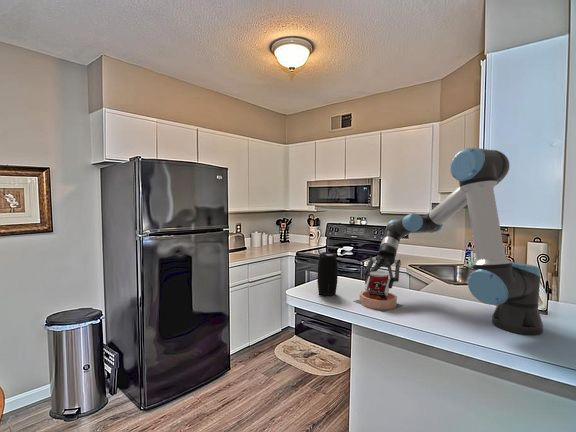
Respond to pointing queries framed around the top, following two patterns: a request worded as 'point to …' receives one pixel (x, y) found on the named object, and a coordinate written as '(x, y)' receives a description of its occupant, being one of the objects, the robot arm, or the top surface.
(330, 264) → the portable speaker
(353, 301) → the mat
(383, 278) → the canned food
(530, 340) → the top surface
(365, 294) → the bowl
